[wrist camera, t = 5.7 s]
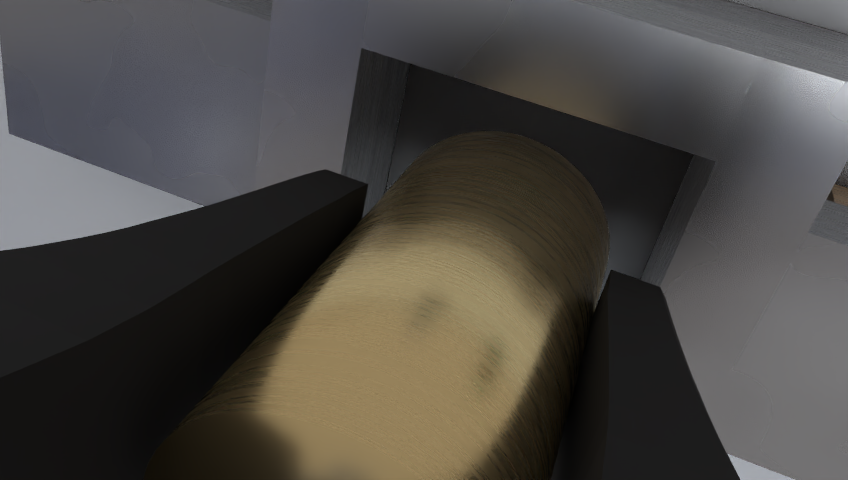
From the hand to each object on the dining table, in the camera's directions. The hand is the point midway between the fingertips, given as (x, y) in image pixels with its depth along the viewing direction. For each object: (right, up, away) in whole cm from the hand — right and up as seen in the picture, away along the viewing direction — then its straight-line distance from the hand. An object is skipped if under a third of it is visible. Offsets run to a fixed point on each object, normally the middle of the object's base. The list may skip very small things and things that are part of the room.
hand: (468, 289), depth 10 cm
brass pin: (0, +1, +1) cm, 1 cm away
